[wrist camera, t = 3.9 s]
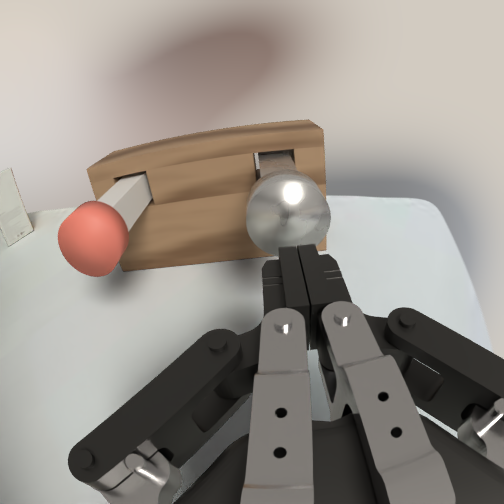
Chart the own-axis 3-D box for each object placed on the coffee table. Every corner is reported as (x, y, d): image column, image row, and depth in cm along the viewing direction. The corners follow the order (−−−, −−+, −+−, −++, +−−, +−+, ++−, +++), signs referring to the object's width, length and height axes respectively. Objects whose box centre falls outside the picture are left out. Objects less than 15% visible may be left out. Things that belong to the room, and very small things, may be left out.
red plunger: (127, 273, 17) (103, 209, 15) (74, 278, 17) (48, 221, 15) (171, 197, 27) (160, 153, 25) (130, 204, 27) (118, 163, 25)
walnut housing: (326, 250, 27) (323, 129, 21) (123, 271, 28) (86, 169, 22) (314, 220, 32) (308, 119, 26) (140, 241, 33) (113, 151, 27)
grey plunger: (330, 252, 16) (330, 177, 14) (251, 261, 16) (240, 186, 14) (299, 180, 26) (295, 134, 24) (251, 185, 27) (244, 139, 24)
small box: (34, 230, 44) (11, 166, 37) (8, 247, 40) (-18, 183, 33) (28, 223, 48) (8, 167, 41) (5, 238, 44) (-17, 181, 37)
